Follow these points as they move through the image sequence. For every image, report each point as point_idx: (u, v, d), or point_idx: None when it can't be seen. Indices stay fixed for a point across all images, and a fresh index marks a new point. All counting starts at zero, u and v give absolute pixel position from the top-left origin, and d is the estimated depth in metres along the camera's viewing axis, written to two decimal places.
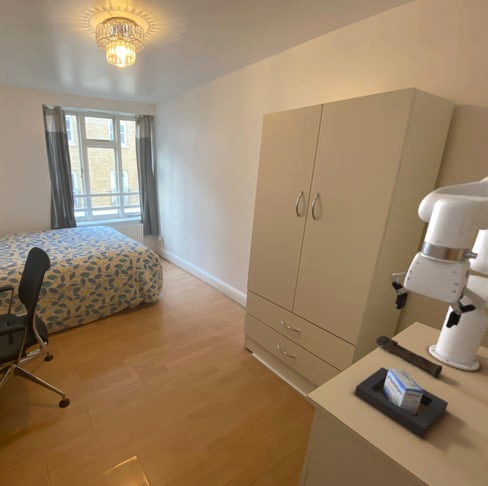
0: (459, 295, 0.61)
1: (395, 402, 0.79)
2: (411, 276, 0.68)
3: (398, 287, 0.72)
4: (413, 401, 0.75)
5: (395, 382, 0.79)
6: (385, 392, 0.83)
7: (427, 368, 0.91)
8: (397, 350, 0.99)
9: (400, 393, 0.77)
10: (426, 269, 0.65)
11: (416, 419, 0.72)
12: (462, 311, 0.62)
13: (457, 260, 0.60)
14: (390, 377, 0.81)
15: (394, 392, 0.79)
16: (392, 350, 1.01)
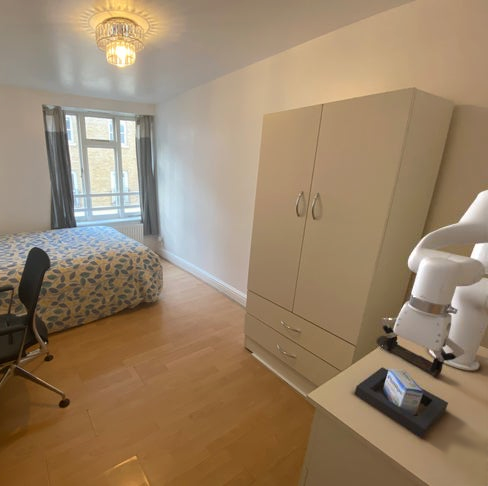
0: (441, 345, 0.69)
1: (395, 402, 0.79)
2: (400, 323, 0.75)
3: (388, 331, 0.79)
4: (413, 401, 0.75)
5: (395, 382, 0.79)
6: (385, 392, 0.83)
7: (427, 368, 0.91)
8: (397, 350, 0.99)
9: (400, 393, 0.77)
10: (413, 319, 0.72)
11: (416, 419, 0.72)
12: (444, 359, 0.69)
13: (439, 314, 0.68)
14: (390, 377, 0.81)
15: (394, 392, 0.79)
16: (392, 350, 1.01)
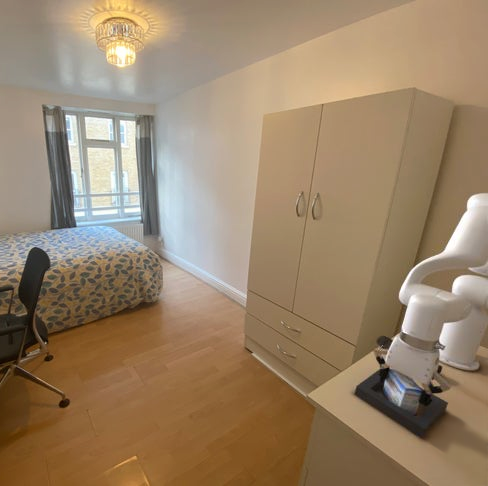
0: (430, 379, 0.72)
1: (395, 402, 0.79)
2: (391, 355, 0.78)
3: (381, 362, 0.82)
4: (413, 401, 0.75)
5: (395, 382, 0.79)
6: (385, 392, 0.83)
7: None
8: None
9: (400, 393, 0.77)
10: (403, 352, 0.75)
11: (416, 419, 0.72)
12: (432, 392, 0.72)
13: (428, 350, 0.71)
14: (390, 377, 0.81)
15: (394, 392, 0.79)
16: None
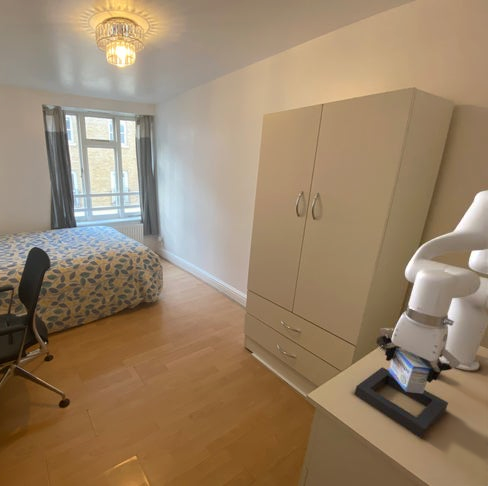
0: (438, 355, 0.70)
1: (402, 381, 0.77)
2: (397, 333, 0.76)
3: (387, 341, 0.80)
4: (420, 379, 0.74)
5: (402, 361, 0.77)
6: (391, 372, 0.81)
7: None
8: None
9: (407, 372, 0.75)
10: (410, 329, 0.74)
11: (416, 419, 0.72)
12: (440, 369, 0.71)
13: (436, 326, 0.69)
14: (397, 356, 0.79)
15: (400, 371, 0.77)
16: None
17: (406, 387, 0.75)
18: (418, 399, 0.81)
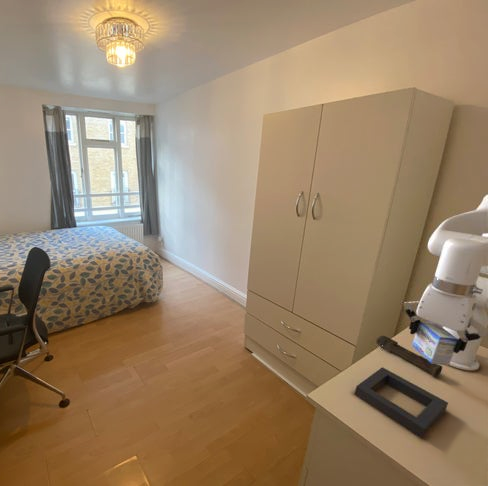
0: (466, 325, 0.69)
1: (427, 354, 0.76)
2: (423, 305, 0.76)
3: (411, 314, 0.80)
4: (447, 351, 0.73)
5: (427, 334, 0.77)
6: (415, 346, 0.81)
7: (427, 368, 0.91)
8: (397, 350, 0.99)
9: (433, 343, 0.74)
10: (437, 300, 0.73)
11: (416, 419, 0.72)
12: (468, 339, 0.70)
13: (464, 295, 0.68)
14: (421, 329, 0.79)
15: (426, 343, 0.77)
16: (392, 350, 1.01)
17: (432, 359, 0.75)
18: (418, 399, 0.81)
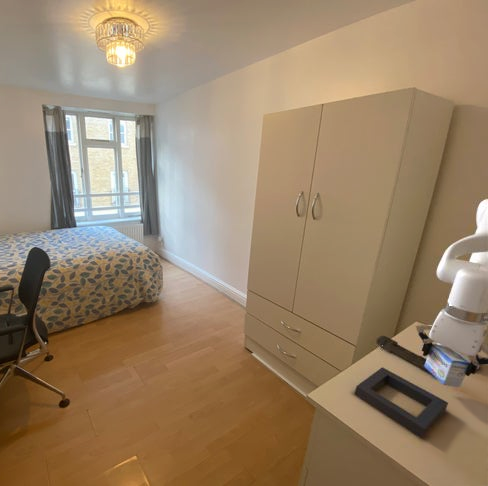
0: (478, 350, 0.74)
1: (439, 375, 0.81)
2: (436, 329, 0.81)
3: (424, 337, 0.84)
4: (459, 373, 0.78)
5: (439, 356, 0.81)
6: (427, 367, 0.85)
7: None
8: (397, 350, 0.99)
9: (445, 366, 0.79)
10: (449, 326, 0.78)
11: (416, 419, 0.72)
12: (479, 363, 0.75)
13: (476, 322, 0.73)
14: (433, 351, 0.83)
15: (438, 365, 0.81)
16: (392, 350, 1.01)
17: (444, 381, 0.79)
18: (418, 399, 0.81)
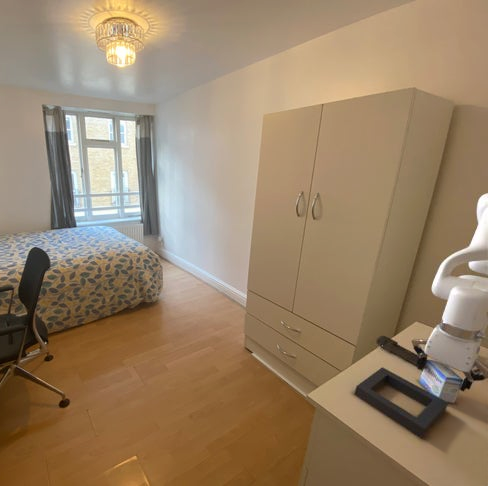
0: (471, 366, 0.76)
1: (434, 391, 0.82)
2: (431, 345, 0.82)
3: (419, 351, 0.86)
4: (453, 389, 0.79)
5: (434, 372, 0.83)
6: (422, 382, 0.87)
7: None
8: (397, 350, 0.99)
9: (440, 382, 0.81)
10: (444, 342, 0.79)
11: (416, 419, 0.72)
12: (474, 379, 0.76)
13: (470, 339, 0.75)
14: (428, 367, 0.85)
15: (433, 381, 0.83)
16: (392, 350, 1.01)
17: None
18: (418, 399, 0.81)
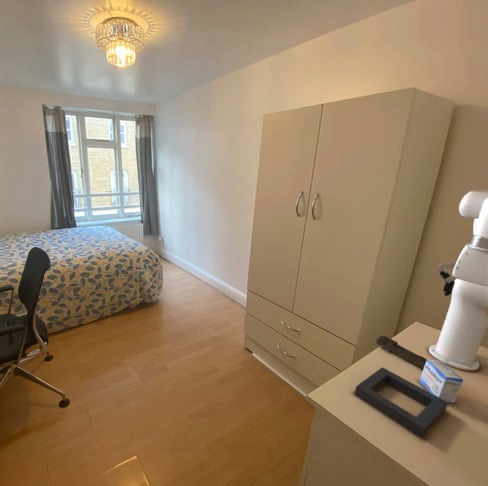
0: None
1: (434, 391, 0.82)
2: (460, 265, 0.76)
3: (446, 276, 0.80)
4: (453, 389, 0.79)
5: (434, 372, 0.83)
6: (422, 382, 0.87)
7: None
8: (397, 350, 0.99)
9: (440, 382, 0.81)
10: (476, 259, 0.73)
11: (416, 419, 0.72)
12: None
13: None
14: (428, 367, 0.85)
15: (433, 381, 0.83)
16: (392, 350, 1.01)
17: None
18: (418, 399, 0.81)
